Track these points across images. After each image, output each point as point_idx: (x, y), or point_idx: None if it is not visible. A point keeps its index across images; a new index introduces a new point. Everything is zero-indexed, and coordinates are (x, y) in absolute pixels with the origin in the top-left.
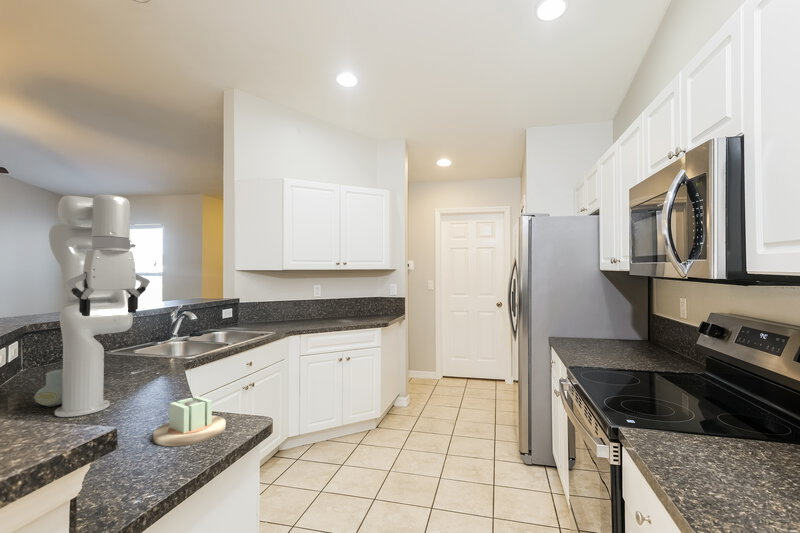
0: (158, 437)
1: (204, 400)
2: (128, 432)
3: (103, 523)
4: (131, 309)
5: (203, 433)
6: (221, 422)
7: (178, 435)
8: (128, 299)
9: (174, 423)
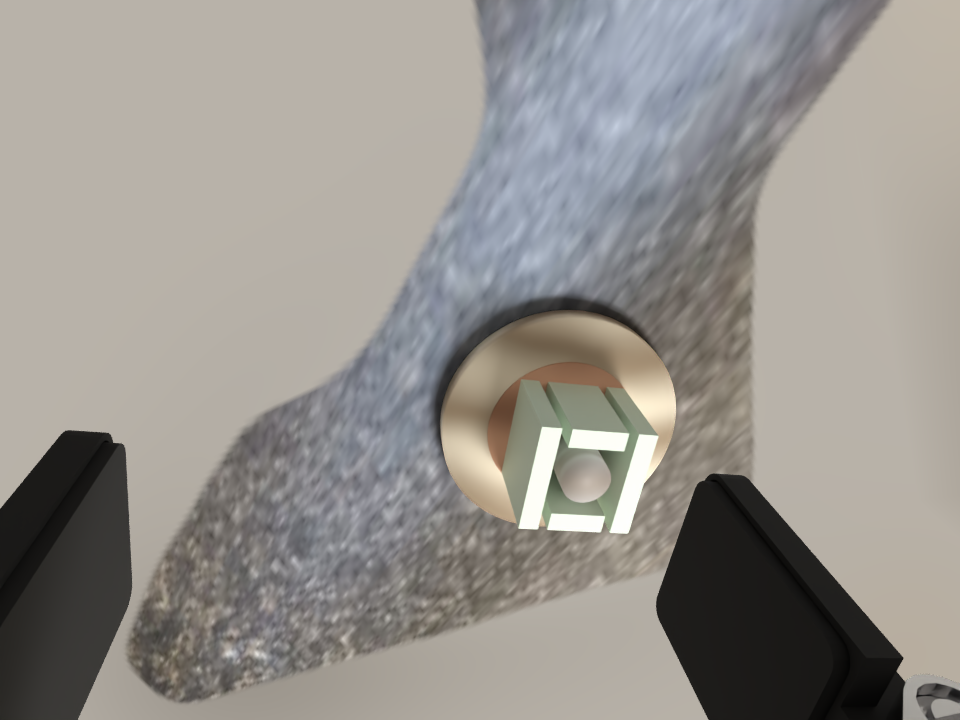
0: (446, 425)
1: (618, 510)
2: (462, 205)
3: (150, 676)
4: (681, 608)
5: None
6: None
7: (487, 464)
8: (804, 647)
9: (517, 425)
